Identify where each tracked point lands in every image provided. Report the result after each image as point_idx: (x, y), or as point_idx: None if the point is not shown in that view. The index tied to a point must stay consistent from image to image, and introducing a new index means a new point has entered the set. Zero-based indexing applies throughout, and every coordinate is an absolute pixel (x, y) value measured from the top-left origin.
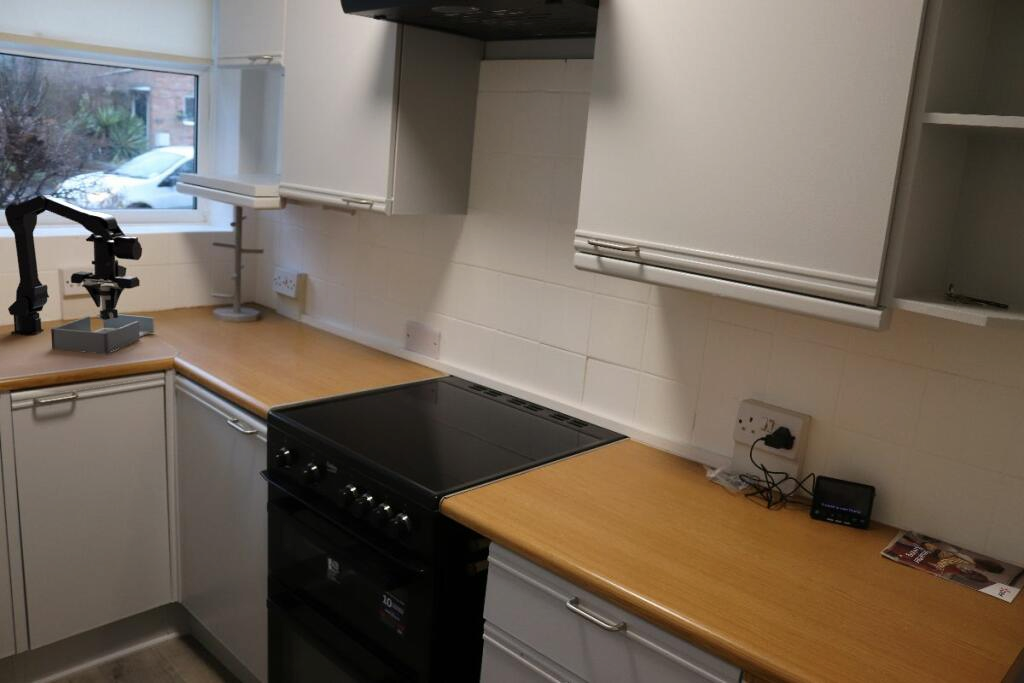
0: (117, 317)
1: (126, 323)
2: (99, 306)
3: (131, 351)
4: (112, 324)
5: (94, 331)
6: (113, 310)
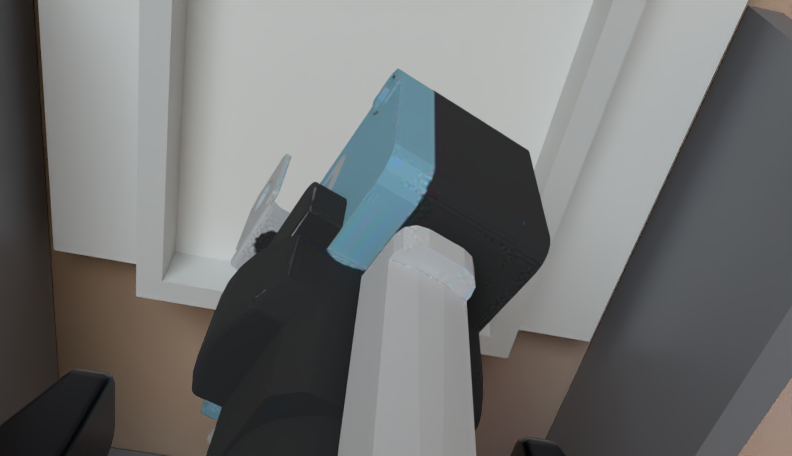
0: (521, 151)
1: None
2: (111, 402)
3: None
4: None
5: (140, 52)
6: (475, 327)
